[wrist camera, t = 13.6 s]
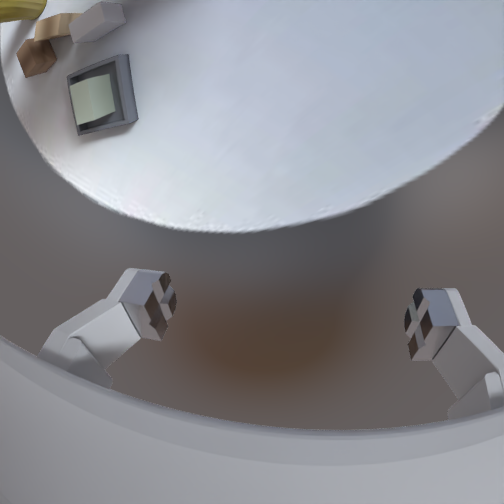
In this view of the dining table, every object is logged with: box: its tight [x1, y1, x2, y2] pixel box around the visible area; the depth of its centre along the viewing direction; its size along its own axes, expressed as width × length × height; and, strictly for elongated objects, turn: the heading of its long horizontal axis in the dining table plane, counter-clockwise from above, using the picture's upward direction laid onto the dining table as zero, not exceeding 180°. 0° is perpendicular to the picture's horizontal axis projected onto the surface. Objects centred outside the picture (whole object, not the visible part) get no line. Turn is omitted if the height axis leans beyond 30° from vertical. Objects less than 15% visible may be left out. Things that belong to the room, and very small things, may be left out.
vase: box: [0, 0, 47, 23], centre depth 15 cm, size 6×6×14 cm
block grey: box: [69, 2, 126, 43], centre depth 23 cm, size 6×4×5 cm, turn 103°
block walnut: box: [16, 38, 57, 78], centre depth 25 cm, size 6×4×5 cm, turn 23°
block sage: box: [70, 74, 115, 125], centre depth 30 cm, size 6×4×5 cm, turn 3°
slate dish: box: [67, 54, 138, 136], centre depth 31 cm, size 10×10×2 cm
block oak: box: [34, 13, 83, 42], centre depth 22 cm, size 6×4×5 cm, turn 78°
